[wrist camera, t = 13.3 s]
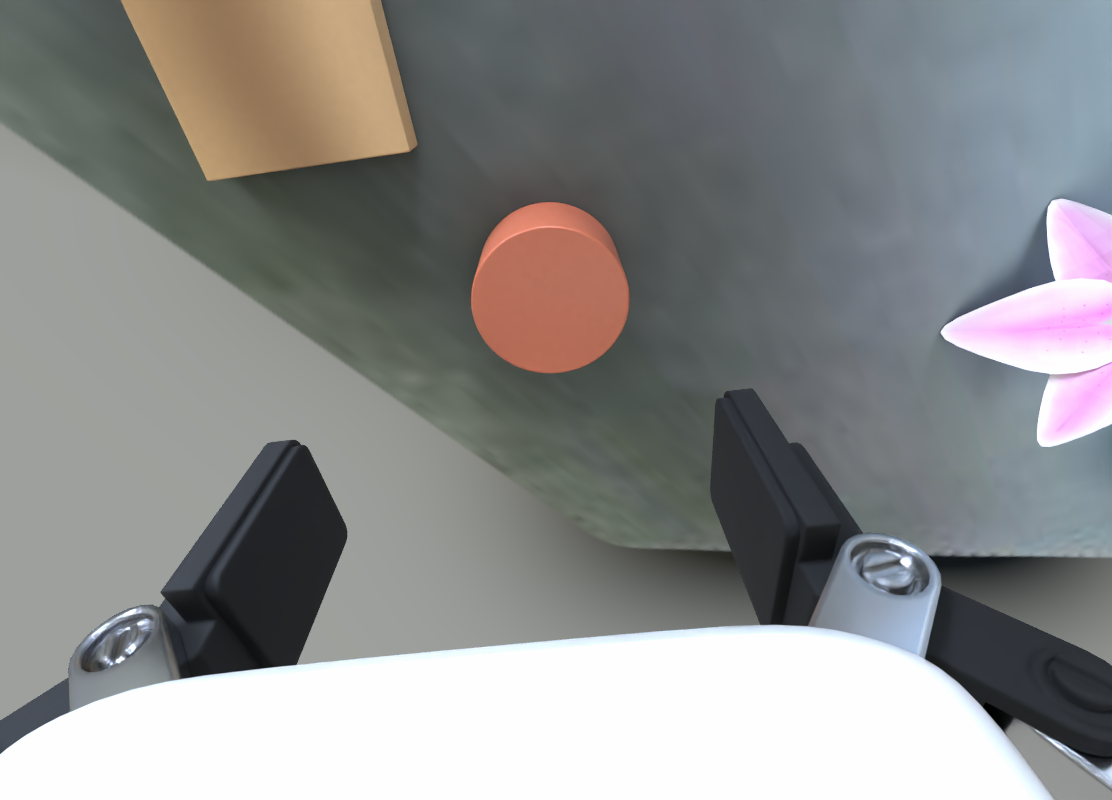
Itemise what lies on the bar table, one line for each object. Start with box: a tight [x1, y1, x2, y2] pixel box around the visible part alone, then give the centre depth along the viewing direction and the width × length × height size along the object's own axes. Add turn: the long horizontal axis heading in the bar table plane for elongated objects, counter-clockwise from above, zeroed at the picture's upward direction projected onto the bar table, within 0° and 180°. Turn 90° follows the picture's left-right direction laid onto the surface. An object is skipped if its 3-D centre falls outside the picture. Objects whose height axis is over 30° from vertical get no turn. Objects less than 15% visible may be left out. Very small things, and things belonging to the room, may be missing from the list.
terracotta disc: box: [471, 202, 630, 373], centre depth 22 cm, size 6×6×4 cm
